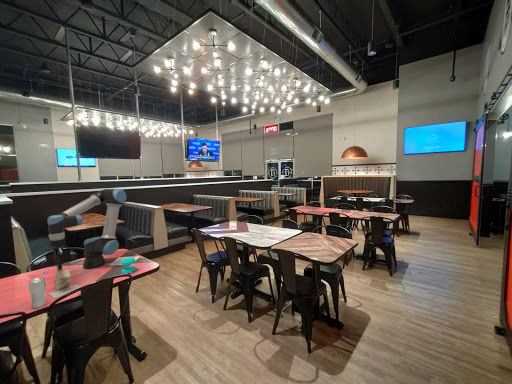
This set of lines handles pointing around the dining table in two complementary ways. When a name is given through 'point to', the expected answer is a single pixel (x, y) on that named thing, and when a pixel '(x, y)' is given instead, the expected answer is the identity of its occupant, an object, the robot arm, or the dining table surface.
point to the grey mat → (63, 291)
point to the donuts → (130, 268)
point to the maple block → (62, 279)
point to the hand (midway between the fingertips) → (59, 274)
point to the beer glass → (37, 292)
